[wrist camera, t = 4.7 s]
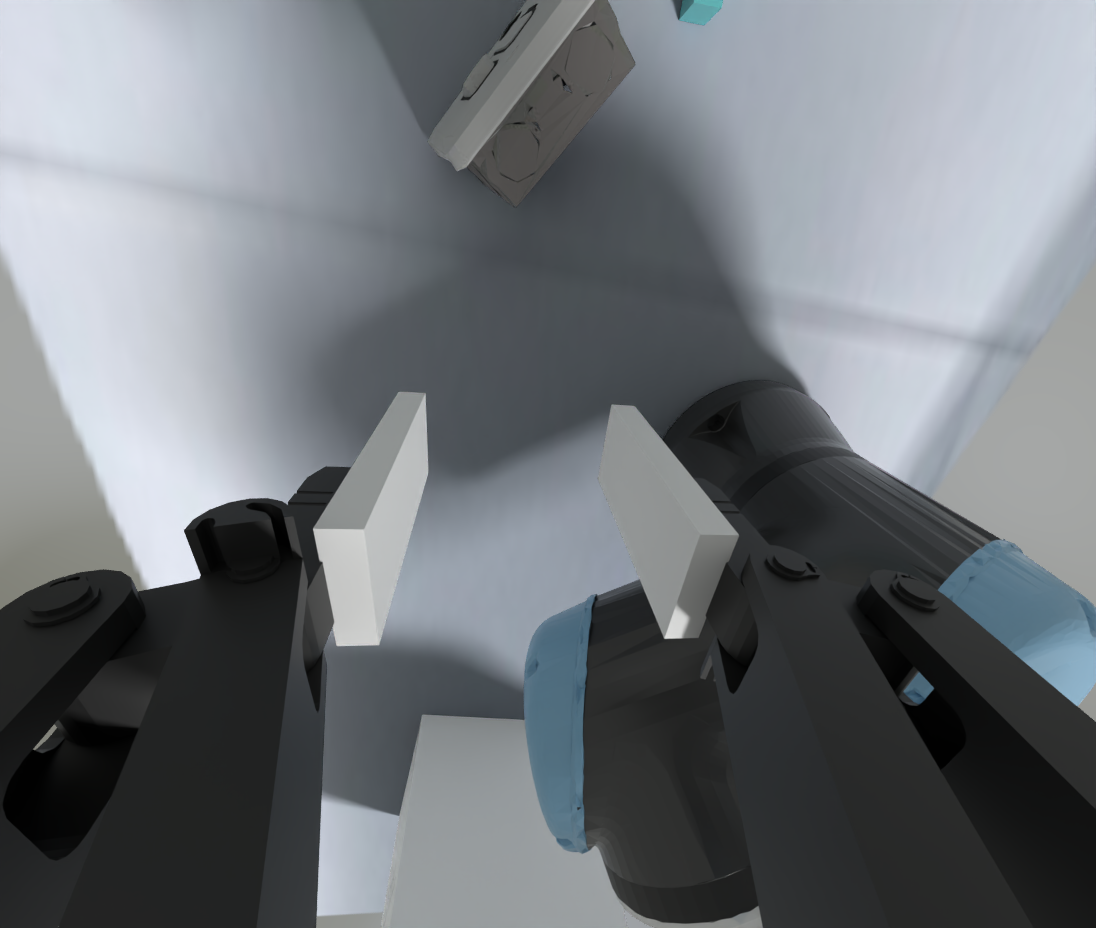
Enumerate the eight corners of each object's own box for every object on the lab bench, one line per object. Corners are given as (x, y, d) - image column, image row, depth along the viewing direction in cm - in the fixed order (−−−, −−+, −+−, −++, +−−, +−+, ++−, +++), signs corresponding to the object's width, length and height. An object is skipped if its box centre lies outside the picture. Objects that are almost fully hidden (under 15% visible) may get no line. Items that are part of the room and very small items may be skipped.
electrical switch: (538, -13, 22) (580, -126, 14) (600, 84, 24) (664, 34, 17) (425, 142, 24) (409, 118, 17) (492, 216, 27) (504, 224, 19)
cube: (422, 710, 50) (369, 1059, 29) (587, 719, 55) (646, 1024, 34) (399, 812, 61) (348, 1120, 40) (539, 812, 66) (559, 1087, 45)
